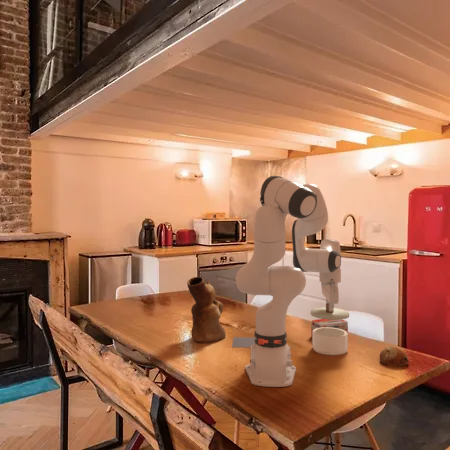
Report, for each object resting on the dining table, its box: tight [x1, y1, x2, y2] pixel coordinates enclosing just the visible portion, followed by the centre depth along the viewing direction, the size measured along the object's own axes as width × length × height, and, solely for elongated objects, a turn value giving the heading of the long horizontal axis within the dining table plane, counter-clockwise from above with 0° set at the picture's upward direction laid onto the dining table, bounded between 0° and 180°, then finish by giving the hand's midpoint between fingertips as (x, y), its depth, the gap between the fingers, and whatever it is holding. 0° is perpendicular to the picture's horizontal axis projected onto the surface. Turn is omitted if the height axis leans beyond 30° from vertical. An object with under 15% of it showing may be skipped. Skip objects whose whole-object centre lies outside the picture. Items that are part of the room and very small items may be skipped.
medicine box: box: [310, 318, 349, 338], centre depth 191 cm, size 15×8×8 cm, turn 111°
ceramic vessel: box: [186, 276, 226, 344], centre depth 186 cm, size 16×22×30 cm
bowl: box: [311, 327, 349, 356], centre depth 174 cm, size 14×14×8 cm
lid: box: [310, 302, 350, 320], centre depth 174 cm, size 16×16×5 cm
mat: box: [231, 336, 255, 349], centre depth 183 cm, size 14×14×1 cm
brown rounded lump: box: [378, 345, 410, 367], centre depth 160 cm, size 10×10×8 cm
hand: (329, 309), depth 174 cm, fingers closed on lid, 3 cm apart
